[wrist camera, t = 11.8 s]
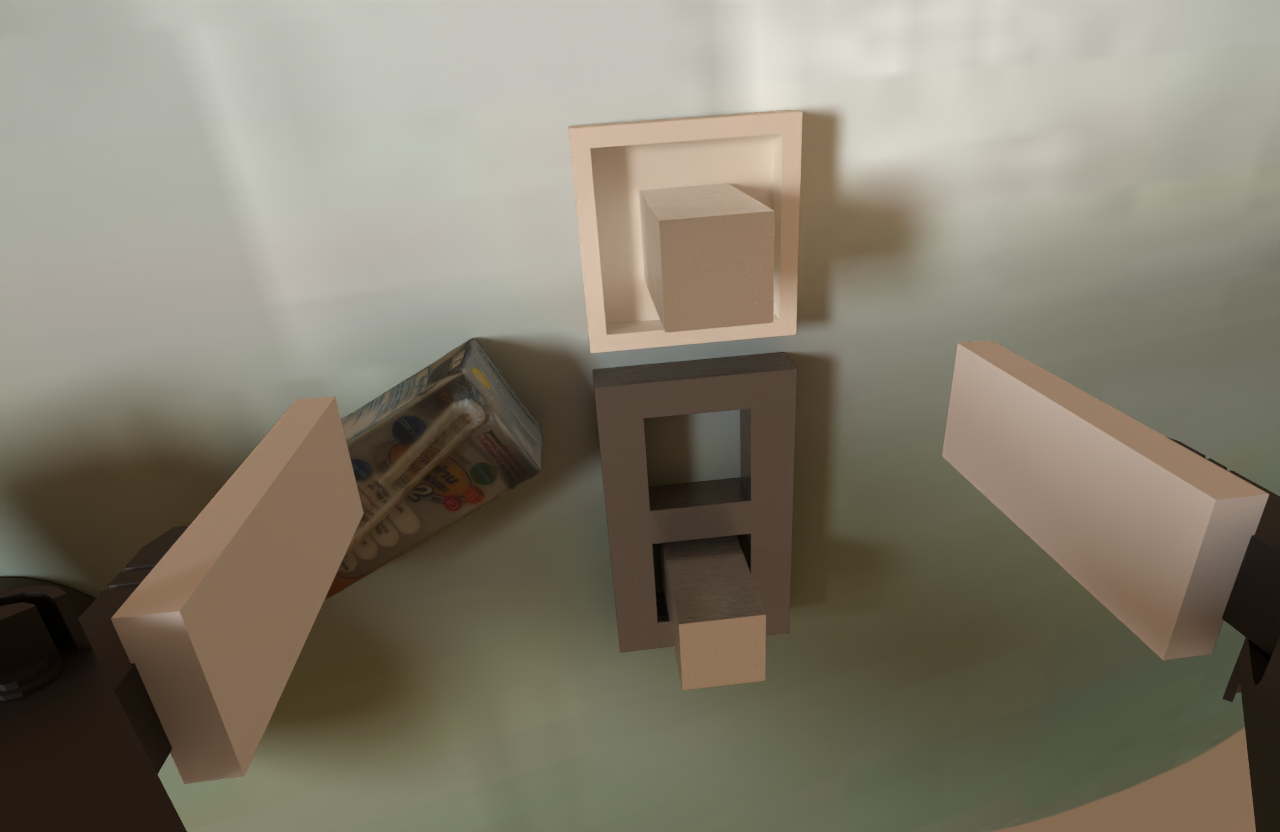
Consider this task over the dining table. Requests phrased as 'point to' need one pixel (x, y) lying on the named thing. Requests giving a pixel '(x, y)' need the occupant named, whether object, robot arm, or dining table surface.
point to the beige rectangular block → (713, 612)
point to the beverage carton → (434, 456)
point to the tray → (669, 158)
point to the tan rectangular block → (707, 256)
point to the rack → (698, 507)
